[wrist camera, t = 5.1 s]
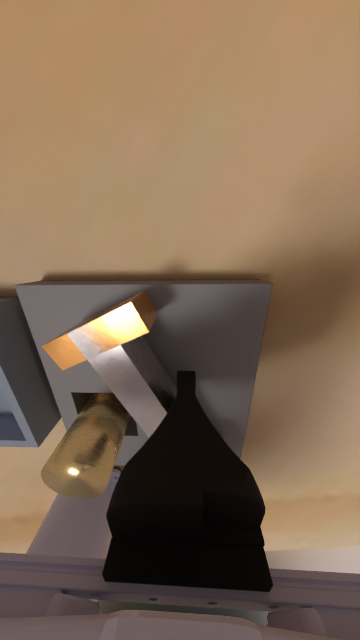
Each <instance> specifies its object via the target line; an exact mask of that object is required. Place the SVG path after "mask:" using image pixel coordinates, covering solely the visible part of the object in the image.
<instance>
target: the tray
mask: <svg viewBox="0 0 360 640" xmlns="http://www.w3.org/2000/svg"><path fill="white" fill-rule="evenodd" d="M60 419H61V414H60V411H59V408H58V405H57V403H56V400H55V397H54V394H53V392H52V389H51V386H50V383H49V380H48V378H47V375H46V372H45V369H44V366H43V364H42V361H41V358H40V355H39V353H38V350H37V347H36V344H35V341H34V339H33V336H32V333H31V330H30V328H29V325H28V322H27V319H26V316H25V314H24V311H23V308H22V305H21V303H20V300H19V297H0V446H3V447H39V446H40V445H41V443H42V442H43V441H44V439H45V438H46V437H47V436H48V434H49V433H50V432H51V430H52V429H53V428H54V426H55V425H56V424H57V422H58V421H59V420H60Z"/></svg>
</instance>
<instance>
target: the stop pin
mask: <svg viewBox="0 0 360 640" xmlns="http://www.w3.org/2000/svg"><path fill="white" fill-rule="evenodd" d="M130 417H131V415H130V413H129V412H128V411H127V410H126V408H125V407H124V406H123V405H122V403H121V402H120V401H119V400H118V398H117V397H116V396H115V394H114V393H93V394H92V395H91V397H90V398H89V400H88V401H87V403H86V404H85V406H84V407H83V409H82V410H81V412H80V413H79V415H78V416H77V418H76V419H75V421H74V422H73V424H72V425H71V427H70V428H69V430H68V431H67V433H66V434H65V436H64V437H63V439H62V440H61V441H60V443H59V444H58V446H57V447H56V449H55V450H54V452H53V453H52V455H51V456H50V458H49V459H48V461H47V462H46V464H45V465H44V467H43V469H42V471H41V477H42V479H43V481H44V483H45V484H46V485H47V486H48V487H49V488H51V489H52V490H54V491H55V492H57V493H59V494H62V495H65V496H68V497H72V498H79V499H87V498H94V497H97V496H99V495H101V494H102V493H104V492H105V490H106V489H107V486H108V483H109V480H110V477H111V474H112V471H113V468H114V465H115V462H116V459H117V456H118V453H119V450H120V447H121V444H122V441H123V438H124V435H125V432H126V429H127V426H128V423H129V420H130Z"/></svg>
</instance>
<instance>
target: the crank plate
mask: <svg viewBox="0 0 360 640" xmlns="http://www.w3.org/2000/svg"><path fill="white" fill-rule="evenodd" d="M14 286H15V289H16V291H17V294H18V297H19V300H20V303H21V305H22V308H23V311H24V314H25V316H26V319H27V322H28V325H29V328H30V330H31V333H32V336H33V339H34V341H35V344H36V347H37V350H38V353H39V355H40V358H41V361H42V364H43V366H44V369H45V372H46V375H47V378H48V380H49V383H50V386H51V389H52V392H53V394H54V397H55V400H56V403H57V405H58V408H59V411H60V414H61V417H62V419H63V422H64V425H65V428H66V430H67V431H68V430H69V428H70V427H71V425H72V424H73V422H74V421H75V419H76V418H77V416H78V415H79V413H80V412H81V410H82V409H83V407H84V406H85V404H86V403H87V401H88V400H89V398H90V395H89V393H113V392H112V391H111V389H110V388H109V387H108V386H107V384H106V383H105V382H104V381H103V379H102V378H101V377H100V375H99V374H98V373H97V372H96V370H95V369H94V368H93V367H92V365H91V364H90V363H89V362H88V360H86V361H83V362H81V363H79V364H77V365H74V366H72V367H70V368H68V369H65V370H63V371H62V370H61V368H60V367H59V366H58V365H57V364H56V363H55V362H54V360H53V359H52V358H51V357H50V356H49V355H48V354H47V352H46V351H45V350H44V349H43V348H42V347H41V346H43V345H44V344H46V343H47V342H49V341H50V340H52V339H54V338H55V337H57V336H58V335H60V334H62V333H63V332H65V331H66V330H68V329H69V328H71V327H73V326H74V325H76V324H78V323H80V322H82V321H84V320H86V319H88V318H90V317H92V316H94V315H96V314H98V313H100V312H102V311H104V310H106V309H108V308H110V307H112V306H114V305H116V304H118V303H120V302H122V301H124V300H126V299H128V298H130V297H132V296H134V295H136V294H138V293H140V292H142V291H144V290H145V291H146V292H147V294H148V296H149V298H150V300H151V301H152V303H153V305H154V307H155V309H156V310H157V312H158V314H157V316H156V318H155V321H154V323H153V325H152V327H151V329H150V331H149V332H148V333H146V334H144V337H145V339H146V340H147V342H148V343H149V345H150V347H151V348H152V350H153V352H154V353H155V355H156V356H157V358H158V360H159V361H160V363H161V364H162V366H163V368H164V369H165V371H166V373H167V374H168V376H169V377H170V379H171V381H172V382H173V384H174V386H175V387H176V389H177V371H195V374H196V391H195V395H196V397H197V399H198V401H199V403H200V405H201V407H202V408H203V410H204V412H205V414H206V415H207V417H208V418H209V420H210V422H211V423H212V424H213V426H214V427H215V429H216V430H217V431H218V432H219V433H220V434H221V435H222V437H223V439H224V441H225V442H226V443H227V444H228V446H229V447H230V448H231V449H232V450H233V452H234V453H235V454H236V455H237V456H238V457H239V458H241V452H242V447H243V441H244V436H245V430H246V425H247V420H248V414H249V409H250V403H251V398H252V393H253V387H254V382H255V376H256V371H257V366H258V360H259V355H260V349H261V344H262V338H263V333H264V328H265V322H266V317H267V311H268V306H269V301H270V295H271V290H272V283H269V282H265V281H262V280H259V279H250V280H103V281H37V282H31V283H25V284H19V285H14ZM148 439H149V438H148V436H147V435H146V434H145V432H144V431H143V430H142V429H141V427H140V426H139V425H138V424H137V422H136V421H135V420H134V419H133V417H132V416H131V417H130V420H129V423H128V426H127V429H126V432H125V435H124V438H123V441H122V444H121V447H120V450H119V453H118V456H117V459H116V462H115V465H114V466H125V465H126V463H127V462H128V461H129V460H130V459H131V458H132V457H133V456H134V455H135V454H136V453H137V451H138V450H139V449H140V448H141V447H142V446H143V445H144V444H145V442H146V441H147V440H148Z"/></svg>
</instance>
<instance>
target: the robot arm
mask: <svg viewBox="0 0 360 640" xmlns="http://www.w3.org/2000/svg"><path fill="white" fill-rule="evenodd" d="M195 391H196V374H195V371H177V396H176V398H175V400H174V402H173V404H172V406H171V407H170V409H169V411H168V412H167V414H166V416H165V417H164V419H163V420H162V422H161V423H160V424H159V426H158V427H157V429H156V430H155V431H154V433H153V434H152V435H151V436H150V437H149V439H148V440H147V441H146V442H145V444H144V445H143V446H142V447H141V448H140V449H139V450H138V451H137V453H136V454H135V455H134V456H133V457H132V458H131V459H130V460H129V461H128V462H127V463H126V465H125V466H124V468H123V470H122V472H120V470H118V469H113V471H112V474H111V477H110V480H109V483H108V486H107V489H106V490H105V492H104V493H102V494H101V495H99V496H97V497H94V498H87V499H79V498H72V497H68V496H65V495H62V494H59V493H58V495H57V496H56V498H55V500H54V502H53V504H52V506H51V508H50V510H49V511H48V513H47V515H46V517H45V519H44V521H43V523H42V525H41V526H40V528H39V530H38V532H37V534H36V536H35V538H34V540H33V542H32V543H31V545H30V547H29V549H28V551H27V553H26V554H16V553H0V640H360V574H353V573H336V572H319V571H303V570H286V569H269V567H268V563H267V560H266V555H265V551H264V548H263V546H264V545H265V544H264V539H263V535H262V531H261V528H260V526H261V523H262V520H263V517H264V514H265V505H264V502H263V499H262V496H261V493H260V491H259V488H258V486H257V484H256V481H255V479H254V477H253V475H252V473H251V471H250V469H249V468H248V467H247V466H246V465H245V464H244V463H243V462H242V461H241V460H240V458H239V457H238V456H237V455H236V454H235V453H234V452H233V450H232V449H231V448H230V447H229V446H228V444H227V443H226V442H225V441H224V439H223V438H222V437H221V435H220V434H219V433H218V431H217V430H216V429H215V427H214V426H213V424H212V423H211V422H210V420H209V418H208V417H207V415H206V414H205V412H204V410H203V408H202V407H201V405H200V403H199V401H198V399H197V397H196V395H195ZM98 600H110V601H124V602H140V603H154V604H169V605H184V606H198V607H213V608H227V609H243V610H257V611H272V612H269V613H268V616H267V620H268V624H267V626H264V625H259V624H255V623H252V622H250V621H248V620H245V619H242V618H235V617H229V616H218V615H203V614H189V613H174V612H160V611H159V612H158V611H145V610H121V611H118V612H115V613H112V614H101V613H100V612H99V608H100V607H99V603H98V602H97V601H98Z"/></svg>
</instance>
